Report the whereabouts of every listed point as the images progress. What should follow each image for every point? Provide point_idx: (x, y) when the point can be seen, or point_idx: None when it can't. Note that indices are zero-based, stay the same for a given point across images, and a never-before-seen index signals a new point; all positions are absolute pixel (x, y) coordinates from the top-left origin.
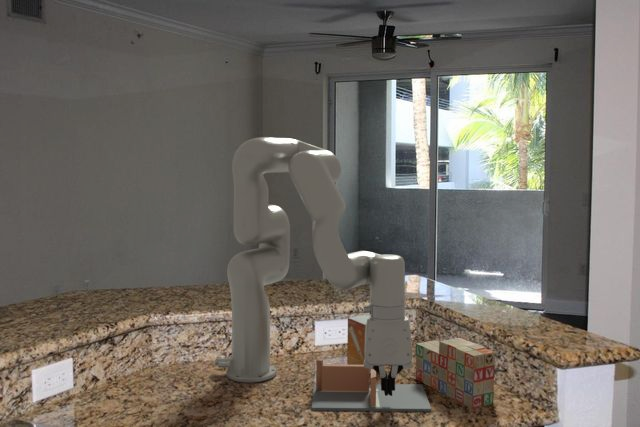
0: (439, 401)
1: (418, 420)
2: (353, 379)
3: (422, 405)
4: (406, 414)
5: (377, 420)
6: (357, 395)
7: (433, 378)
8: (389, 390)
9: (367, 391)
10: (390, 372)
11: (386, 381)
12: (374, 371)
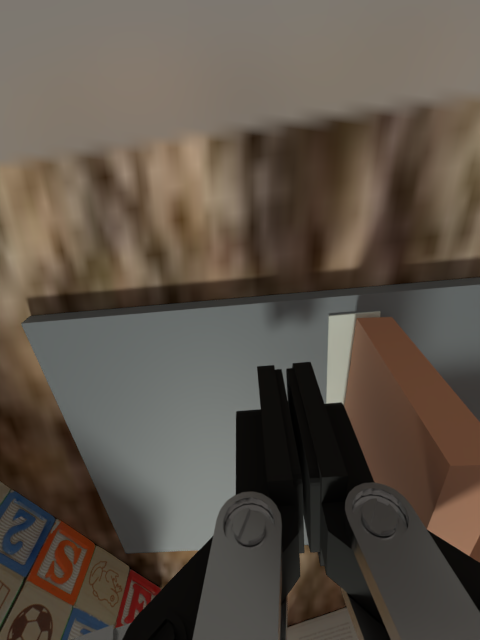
0: (24, 433)
1: (77, 172)
2: (478, 540)
3: (82, 362)
4: (165, 261)
5: (358, 133)
6: None
7: (63, 583)
8: (280, 391)
9: None
10: (287, 568)
11: (322, 448)
12: None
